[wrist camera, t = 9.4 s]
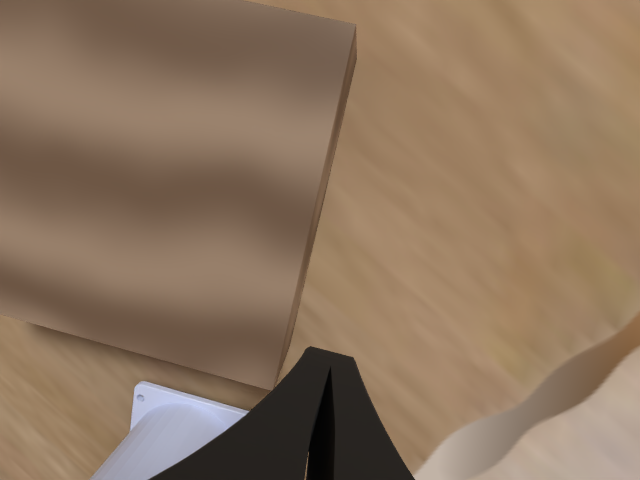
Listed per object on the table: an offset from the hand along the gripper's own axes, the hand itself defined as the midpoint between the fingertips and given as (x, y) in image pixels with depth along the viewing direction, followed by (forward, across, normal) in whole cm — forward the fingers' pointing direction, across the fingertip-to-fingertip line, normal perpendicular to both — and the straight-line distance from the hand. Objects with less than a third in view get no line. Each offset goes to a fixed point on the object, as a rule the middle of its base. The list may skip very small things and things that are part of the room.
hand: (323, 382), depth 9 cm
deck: (+9, +10, -3) cm, 14 cm away
